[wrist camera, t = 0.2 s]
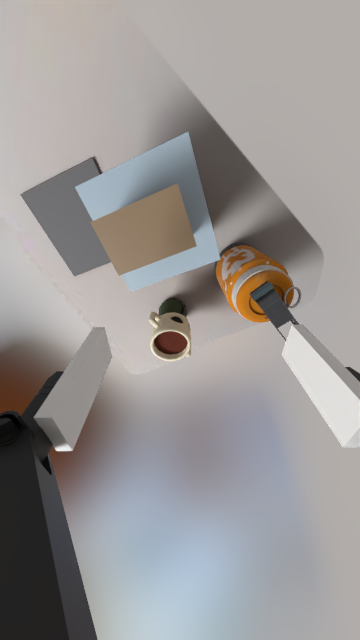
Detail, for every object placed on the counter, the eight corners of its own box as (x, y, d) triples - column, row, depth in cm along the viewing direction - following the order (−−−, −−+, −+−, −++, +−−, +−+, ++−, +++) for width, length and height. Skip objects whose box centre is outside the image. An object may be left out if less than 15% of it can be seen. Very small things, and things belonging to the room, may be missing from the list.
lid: (84, 188, 23) (33, 180, 15) (187, 138, 21) (191, 98, 13) (134, 285, 30) (116, 316, 21) (217, 255, 27) (233, 277, 19)
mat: (22, 194, 33) (20, 194, 33) (93, 158, 31) (92, 157, 30) (75, 275, 40) (74, 276, 40) (136, 251, 38) (135, 251, 38)
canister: (243, 232, 36) (300, 258, 19) (272, 275, 40) (340, 329, 23) (204, 264, 39) (224, 312, 22) (235, 301, 43) (272, 366, 26)
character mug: (199, 317, 45) (206, 354, 34) (176, 333, 48) (175, 373, 37) (168, 283, 41) (164, 313, 30) (144, 303, 44) (132, 337, 32)
